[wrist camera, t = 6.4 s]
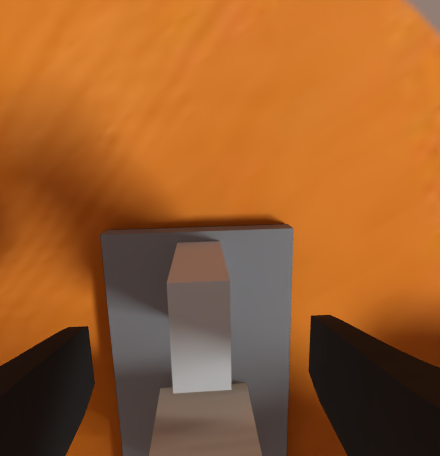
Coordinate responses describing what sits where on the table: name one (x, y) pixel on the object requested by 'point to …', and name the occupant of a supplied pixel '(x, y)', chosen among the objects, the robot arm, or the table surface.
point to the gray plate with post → (200, 321)
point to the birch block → (205, 424)
